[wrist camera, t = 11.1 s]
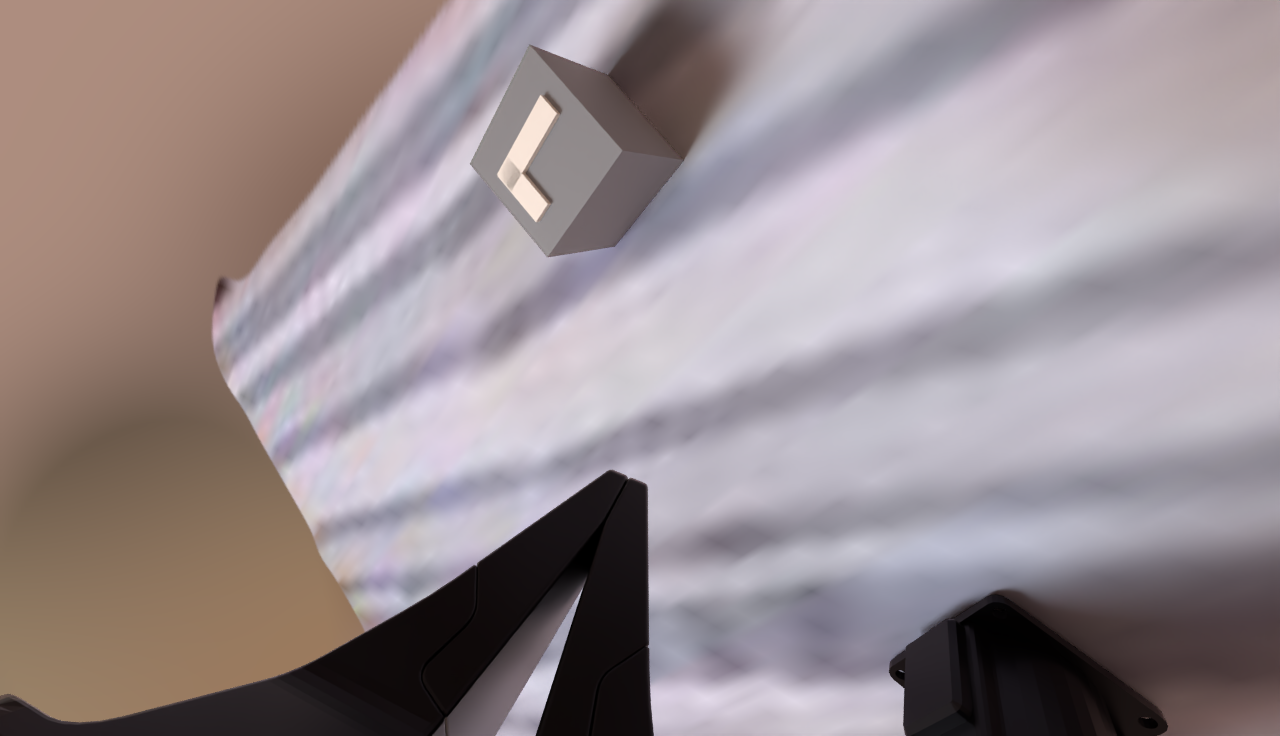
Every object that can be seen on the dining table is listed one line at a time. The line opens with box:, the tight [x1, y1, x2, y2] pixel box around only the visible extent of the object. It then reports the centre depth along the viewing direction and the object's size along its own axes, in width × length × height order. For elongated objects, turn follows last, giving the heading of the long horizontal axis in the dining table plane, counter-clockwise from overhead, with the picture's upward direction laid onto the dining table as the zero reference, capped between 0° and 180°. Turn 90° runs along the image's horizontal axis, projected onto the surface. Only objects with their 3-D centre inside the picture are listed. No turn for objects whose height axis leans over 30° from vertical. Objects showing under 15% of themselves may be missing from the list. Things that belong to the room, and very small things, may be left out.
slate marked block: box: [470, 45, 684, 257], centre depth 19 cm, size 5×5×5 cm
